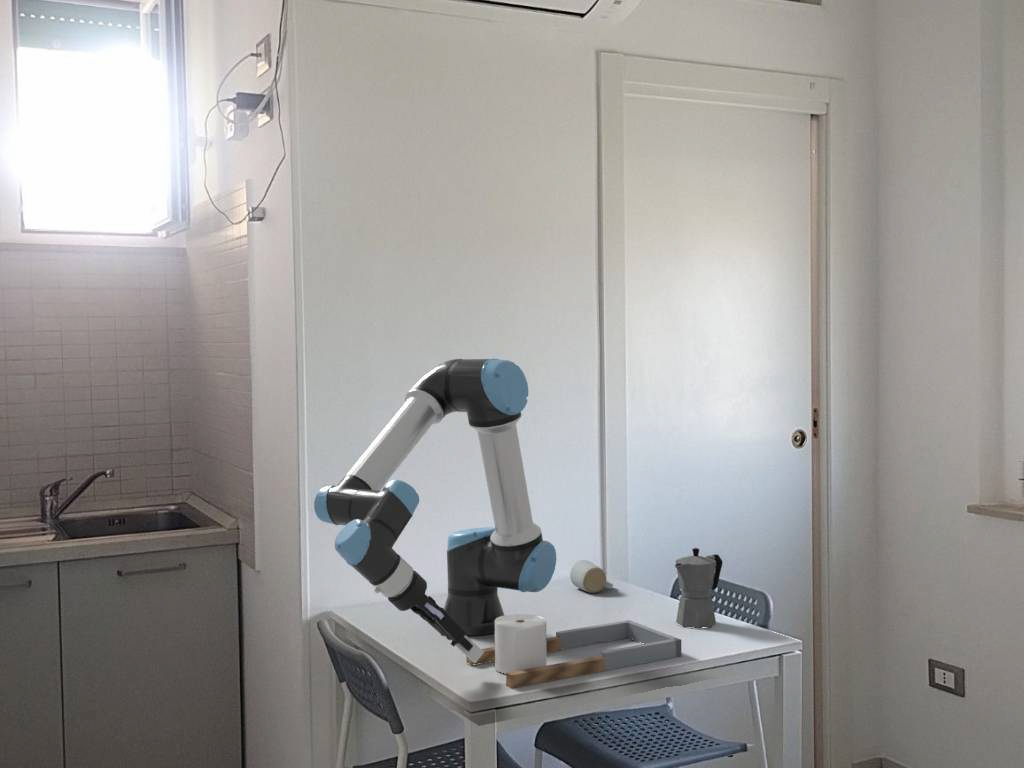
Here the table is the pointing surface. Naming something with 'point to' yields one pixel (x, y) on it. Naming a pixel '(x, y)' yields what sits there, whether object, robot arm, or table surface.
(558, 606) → the table surface
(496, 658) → the toilet tissue
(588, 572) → the ceramic mug
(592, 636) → the tray
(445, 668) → the table surface
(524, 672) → the slot lane
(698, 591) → the coffeepot
